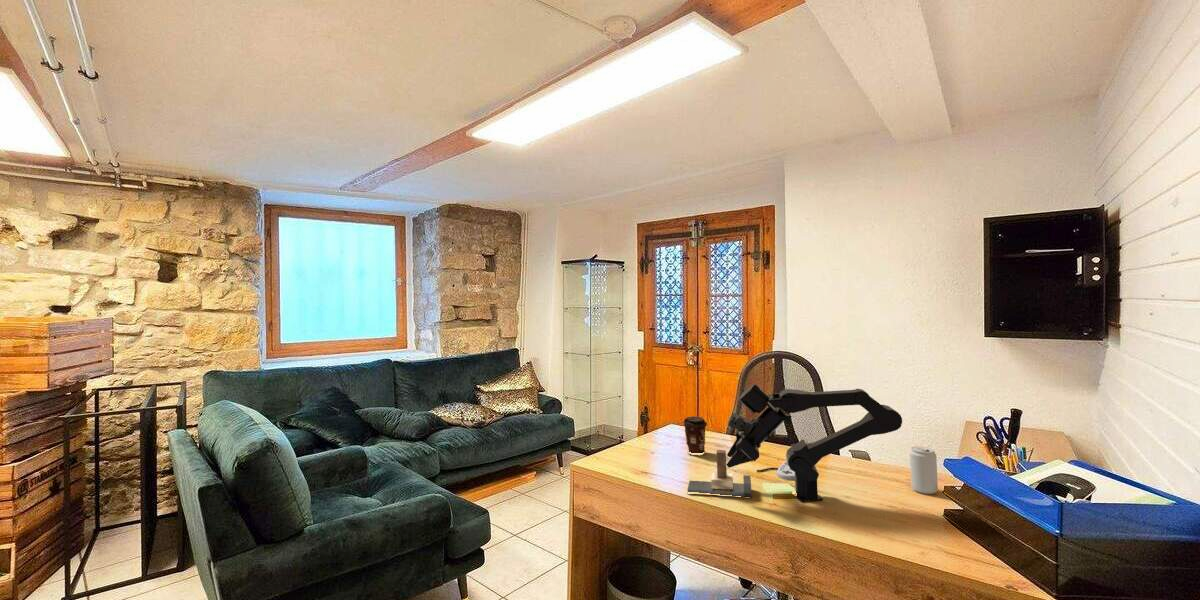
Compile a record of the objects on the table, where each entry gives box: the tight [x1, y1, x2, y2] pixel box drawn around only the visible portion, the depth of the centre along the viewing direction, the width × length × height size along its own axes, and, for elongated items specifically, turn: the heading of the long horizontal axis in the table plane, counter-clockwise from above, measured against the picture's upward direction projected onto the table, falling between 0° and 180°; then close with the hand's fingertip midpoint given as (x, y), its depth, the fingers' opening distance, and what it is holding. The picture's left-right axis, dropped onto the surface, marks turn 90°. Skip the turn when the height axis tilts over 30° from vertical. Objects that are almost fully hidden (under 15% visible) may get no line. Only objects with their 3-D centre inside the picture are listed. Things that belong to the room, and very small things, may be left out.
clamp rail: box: [687, 474, 753, 499], centre depth 147 cm, size 18×7×4 cm, turn 75°
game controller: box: [756, 460, 795, 481], centre depth 162 cm, size 15×13×2 cm
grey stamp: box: [710, 449, 734, 490], centre depth 147 cm, size 6×6×10 cm
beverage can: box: [909, 446, 939, 495], centre depth 142 cm, size 6×6×12 cm
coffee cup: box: [683, 415, 708, 453], centre depth 183 cm, size 9×8×13 cm
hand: (727, 461), depth 146 cm, fingers open, 9 cm apart
